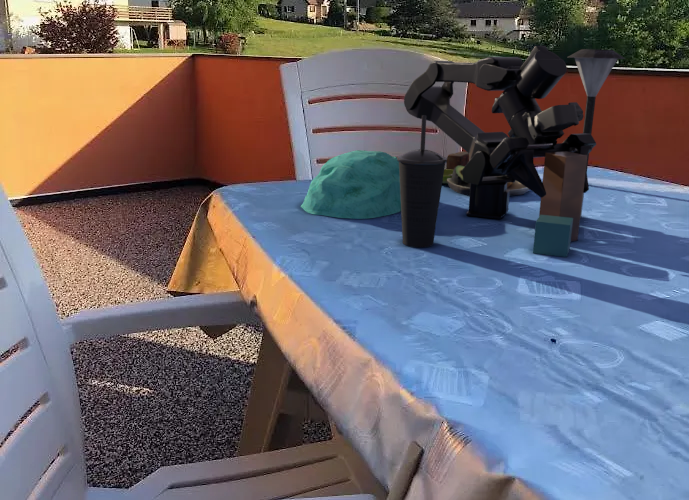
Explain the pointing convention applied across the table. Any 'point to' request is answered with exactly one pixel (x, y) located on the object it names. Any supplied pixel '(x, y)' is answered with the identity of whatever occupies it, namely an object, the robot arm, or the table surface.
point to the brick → (457, 160)
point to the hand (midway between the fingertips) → (565, 193)
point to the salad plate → (464, 187)
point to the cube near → (552, 235)
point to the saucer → (447, 175)
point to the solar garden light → (593, 77)
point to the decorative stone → (356, 186)
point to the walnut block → (564, 187)
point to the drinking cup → (420, 192)
